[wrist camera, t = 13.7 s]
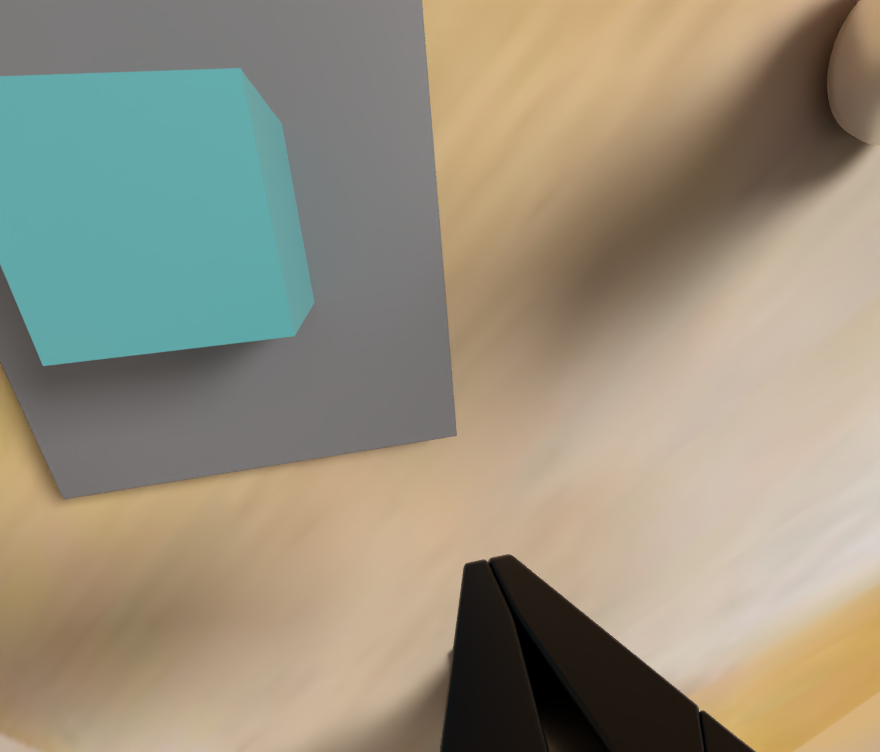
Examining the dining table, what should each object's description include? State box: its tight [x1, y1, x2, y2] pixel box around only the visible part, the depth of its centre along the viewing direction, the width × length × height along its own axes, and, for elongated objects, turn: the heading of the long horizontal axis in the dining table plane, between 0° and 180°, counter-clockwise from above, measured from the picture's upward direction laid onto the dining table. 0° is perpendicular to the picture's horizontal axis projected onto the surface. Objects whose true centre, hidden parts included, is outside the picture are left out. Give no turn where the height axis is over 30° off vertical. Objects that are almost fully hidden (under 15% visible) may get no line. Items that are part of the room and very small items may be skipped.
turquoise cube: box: [0, 68, 314, 366], centre depth 12 cm, size 6×6×5 cm
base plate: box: [0, 0, 457, 499], centre depth 15 cm, size 18×15×2 cm
